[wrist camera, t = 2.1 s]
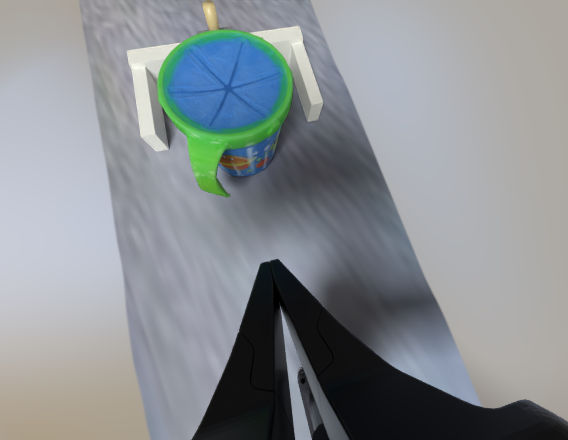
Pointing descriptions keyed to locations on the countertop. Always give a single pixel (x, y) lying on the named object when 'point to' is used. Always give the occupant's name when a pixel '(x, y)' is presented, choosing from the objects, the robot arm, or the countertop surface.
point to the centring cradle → (152, 58)
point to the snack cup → (226, 102)
